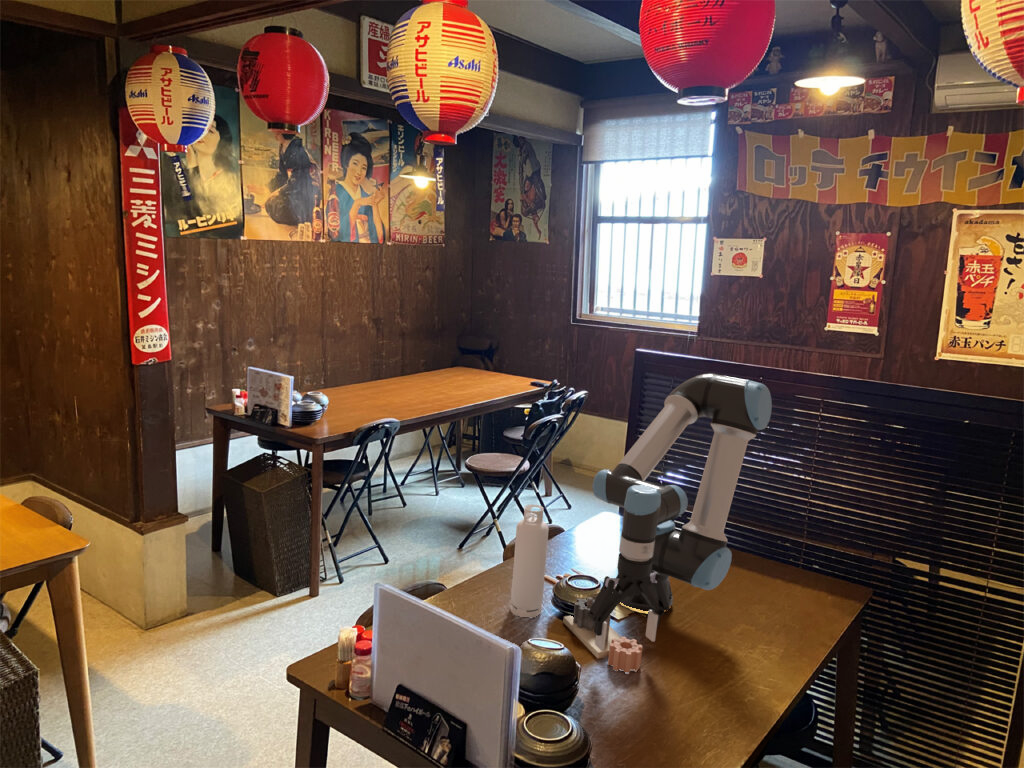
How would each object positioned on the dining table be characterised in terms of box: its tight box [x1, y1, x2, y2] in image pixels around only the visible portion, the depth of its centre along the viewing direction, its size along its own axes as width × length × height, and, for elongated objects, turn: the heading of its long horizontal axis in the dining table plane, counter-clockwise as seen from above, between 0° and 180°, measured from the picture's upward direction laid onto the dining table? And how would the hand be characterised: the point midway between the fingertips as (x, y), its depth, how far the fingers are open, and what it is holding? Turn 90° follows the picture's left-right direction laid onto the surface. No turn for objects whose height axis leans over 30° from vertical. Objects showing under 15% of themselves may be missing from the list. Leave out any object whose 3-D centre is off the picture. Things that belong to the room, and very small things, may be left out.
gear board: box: [562, 596, 622, 659], centre depth 179 cm, size 9×17×8 cm, turn 24°
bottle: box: [509, 503, 550, 618], centre depth 187 cm, size 8×8×28 cm
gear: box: [607, 636, 643, 673], centre depth 168 cm, size 7×7×5 cm
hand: (625, 643), depth 167 cm, fingers open, 13 cm apart
